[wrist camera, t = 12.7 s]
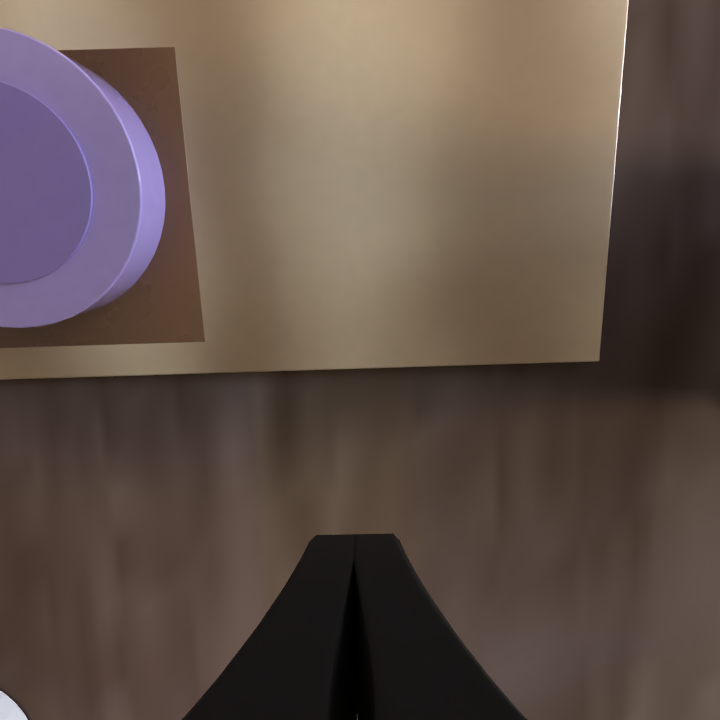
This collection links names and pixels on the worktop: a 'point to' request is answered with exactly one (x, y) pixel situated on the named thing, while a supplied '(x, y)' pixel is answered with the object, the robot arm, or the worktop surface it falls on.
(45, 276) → the saucer
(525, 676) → the worktop surface
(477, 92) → the board
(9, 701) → the coffee cup
